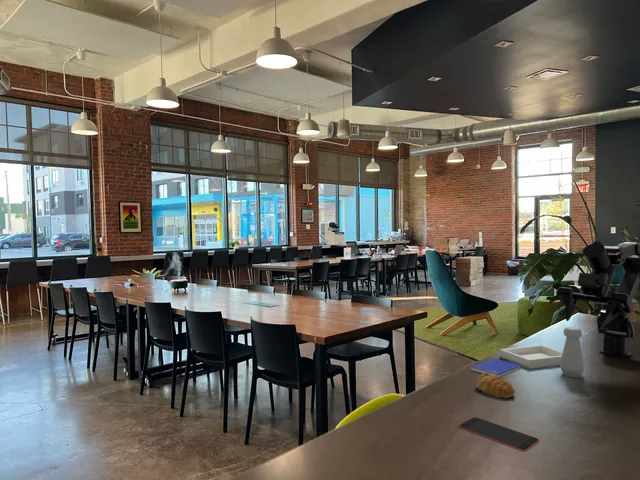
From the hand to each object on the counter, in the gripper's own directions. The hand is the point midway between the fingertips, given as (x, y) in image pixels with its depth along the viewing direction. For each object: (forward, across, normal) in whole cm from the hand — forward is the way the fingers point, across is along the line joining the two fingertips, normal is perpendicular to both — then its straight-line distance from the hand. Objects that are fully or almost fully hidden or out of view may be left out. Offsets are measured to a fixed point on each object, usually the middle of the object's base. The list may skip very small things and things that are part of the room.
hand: (583, 322), depth 130 cm
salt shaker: (+15, 0, +4) cm, 16 cm away
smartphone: (+48, +6, -30) cm, 58 cm away
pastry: (+34, -6, -16) cm, 38 cm away
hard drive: (+23, -16, -4) cm, 28 cm away
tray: (+11, -13, +8) cm, 18 cm away
